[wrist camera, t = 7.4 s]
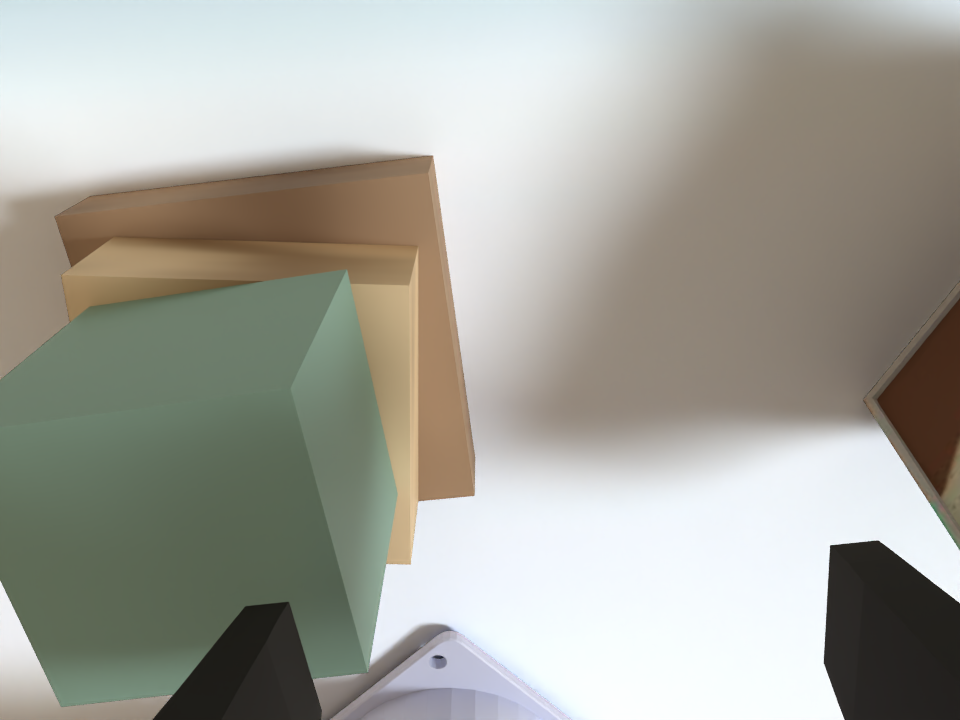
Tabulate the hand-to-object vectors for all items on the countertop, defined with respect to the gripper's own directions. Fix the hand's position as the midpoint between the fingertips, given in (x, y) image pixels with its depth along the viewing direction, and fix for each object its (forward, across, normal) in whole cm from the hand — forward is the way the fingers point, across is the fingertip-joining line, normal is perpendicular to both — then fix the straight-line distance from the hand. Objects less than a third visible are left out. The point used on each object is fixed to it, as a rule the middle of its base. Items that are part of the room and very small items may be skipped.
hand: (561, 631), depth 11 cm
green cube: (+6, +6, -1) cm, 8 cm away
